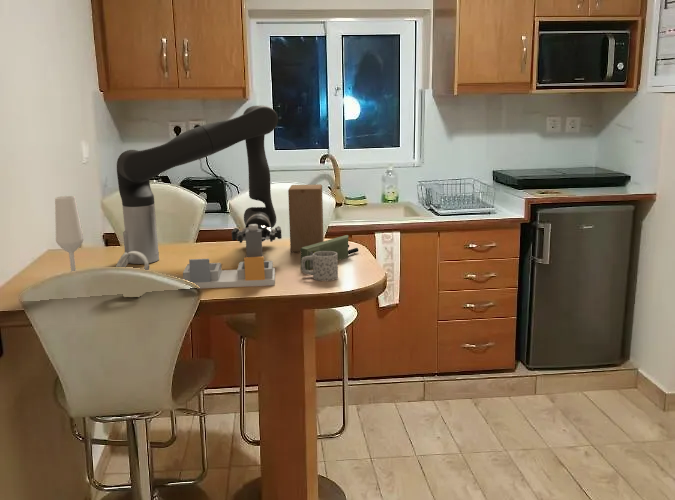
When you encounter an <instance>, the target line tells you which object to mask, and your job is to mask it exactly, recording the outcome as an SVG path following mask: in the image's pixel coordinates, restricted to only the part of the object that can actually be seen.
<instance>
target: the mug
mask: <svg viewBox="0 0 675 500" xmlns="http://www.w3.org/2000/svg"><path fill="white" fill-rule="evenodd" d="M306 260H313V269H310V270H306V269H305V261H306ZM338 261H339V260H338V257H337V253H336V252H333V251H319V252H315V253H313V255H312V256H305V257H303V258H302V261H301V260H300V268H301V267H302V270H301V271H302V273H303V274H305V275H309V276H312V278H313V280H315V281H318V282H331V281H335V280H337V279H338V278H339V273H338V272H339V267H338V263H339V262H338Z"/></svg>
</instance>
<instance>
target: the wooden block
mask: <svg viewBox="0 0 675 500" xmlns="http://www.w3.org/2000/svg"><path fill="white" fill-rule="evenodd" d="M287 193H288V217H289V218H288V219H289V244H290V245H289V247H290V249H289V250H290V252H291V253H301V248H302V247H306V246H309V245H313V244H316V243H320V242H323V241H325V240H324V212H323V211H324V209H323V185H322V184H320V183H319V184H292V185H290V187H289V188H288V190H287Z"/></svg>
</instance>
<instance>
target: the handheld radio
mask: <svg viewBox="0 0 675 500" xmlns="http://www.w3.org/2000/svg"><path fill="white" fill-rule="evenodd" d="M349 237H350V235H348V234H346V235H342V236H341V235H340V236H338V237H334V238H331V239H327V240H324V241H323V242H320V243H316V244H313V245H309V246H306V247H302V248H301V252H300V262H301V261H302V258H303V257H305V256H312V255H313V253H315V252H319V251H333V252H336V253H337V257H338V261H340V259H341V260H344V259H348V258H349V255H352V254H354V253H358V252H359V248H358V247H354V248H351V249H349V248H350V244H349V241H350V239H349ZM305 269H306V270H308V271H311V270H313V260H306V261H305ZM300 270H301V271H302V267H301V266H300Z"/></svg>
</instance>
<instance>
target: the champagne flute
mask: <svg viewBox="0 0 675 500" xmlns="http://www.w3.org/2000/svg"><path fill="white" fill-rule="evenodd" d="M54 205H55V208H54V209H55V212H54V214H55V219H54V220H55V243H56V244H57V245H58V246H59V248H61V249H62V250H63V251H65V252H67V253H68V257H69V264H70V273H71V272H72V271H76V272H77V270H76V259H75V252H76V251H77V250H78V249H79V248H80V247H81V246H82V244H83V243H84V239H85V238H84V233H83V228H82V223H81V219H80V214H79V209H78V204H77V200H76V196H75V195H64V196H56V197H55V198H54Z"/></svg>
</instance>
